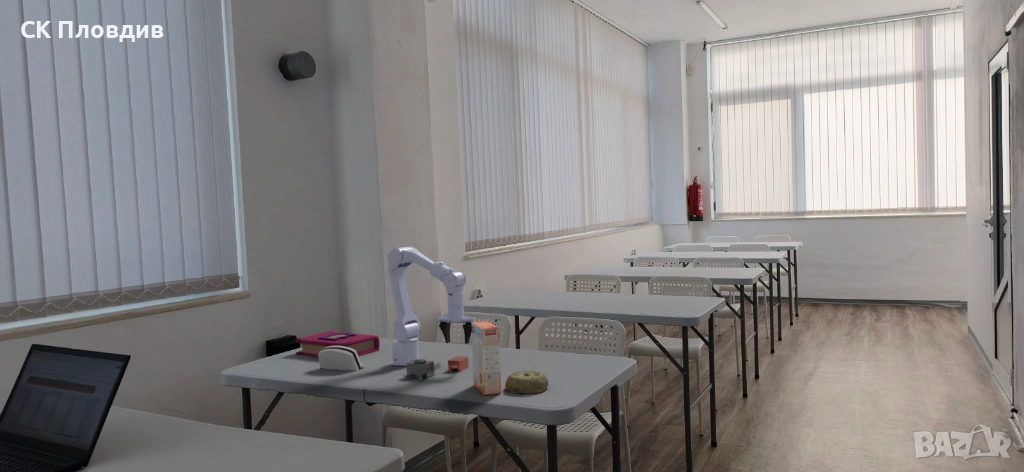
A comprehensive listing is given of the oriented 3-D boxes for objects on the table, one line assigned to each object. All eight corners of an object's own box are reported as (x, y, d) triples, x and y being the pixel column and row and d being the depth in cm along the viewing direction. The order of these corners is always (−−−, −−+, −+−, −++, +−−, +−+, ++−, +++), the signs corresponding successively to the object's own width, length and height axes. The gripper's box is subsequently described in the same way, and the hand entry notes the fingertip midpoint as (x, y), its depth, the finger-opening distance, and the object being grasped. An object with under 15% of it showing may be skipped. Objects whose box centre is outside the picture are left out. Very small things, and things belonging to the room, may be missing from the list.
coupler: (429, 366, 257) (428, 351, 257) (448, 368, 254) (447, 352, 254) (402, 379, 239) (401, 363, 239) (422, 381, 236) (421, 364, 236)
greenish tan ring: (557, 389, 220) (556, 373, 219) (522, 397, 212) (522, 381, 212) (531, 381, 231) (530, 366, 231) (497, 389, 223) (497, 373, 223)
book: (333, 346, 306) (332, 329, 306) (380, 351, 291) (379, 333, 291) (294, 356, 289) (293, 337, 288) (342, 362, 273) (341, 342, 273)
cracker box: (502, 393, 216) (499, 326, 215) (483, 396, 215) (480, 328, 214) (490, 383, 230) (488, 320, 229) (473, 385, 228) (470, 321, 227)
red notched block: (448, 371, 249) (447, 360, 249) (457, 367, 256) (456, 356, 255) (460, 372, 247) (459, 361, 247) (468, 367, 254) (468, 356, 254)
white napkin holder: (365, 367, 260) (358, 344, 256) (358, 374, 256) (351, 351, 252) (328, 365, 266) (321, 342, 263) (320, 372, 262) (313, 349, 259)
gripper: (432, 306, 249) (434, 344, 250) (469, 307, 244) (471, 345, 245) (441, 303, 256) (443, 340, 256) (477, 304, 251) (479, 341, 251)
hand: (457, 343), depth 251 cm, fingers open, 7 cm apart
